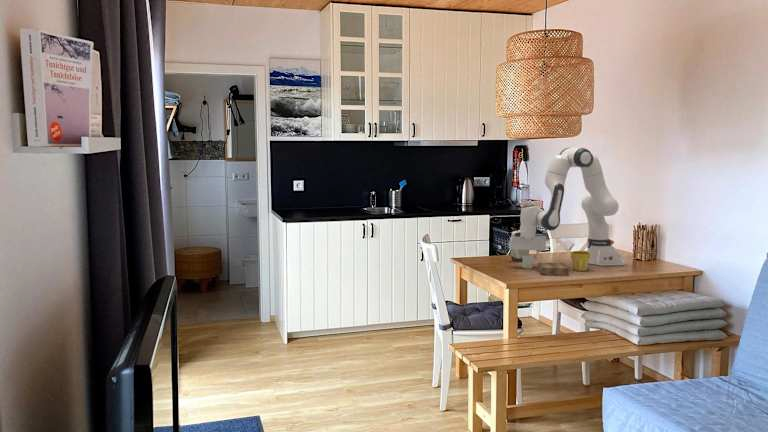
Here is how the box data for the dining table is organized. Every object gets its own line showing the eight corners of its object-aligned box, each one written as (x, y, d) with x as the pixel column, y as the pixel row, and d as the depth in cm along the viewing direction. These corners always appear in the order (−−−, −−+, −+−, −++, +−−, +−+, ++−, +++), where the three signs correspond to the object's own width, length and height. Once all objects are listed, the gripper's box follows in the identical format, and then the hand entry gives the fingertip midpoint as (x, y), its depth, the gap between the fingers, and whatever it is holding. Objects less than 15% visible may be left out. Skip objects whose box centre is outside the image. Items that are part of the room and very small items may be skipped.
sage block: (531, 266, 367) (531, 256, 367) (532, 268, 363) (532, 257, 362) (522, 266, 368) (522, 255, 367) (523, 268, 363) (523, 257, 362)
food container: (529, 260, 385) (529, 243, 384) (530, 262, 379) (530, 245, 378) (507, 260, 386) (508, 243, 385) (508, 262, 380) (509, 245, 379)
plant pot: (566, 269, 358) (566, 252, 357) (577, 267, 365) (578, 250, 363) (582, 272, 350) (582, 254, 349) (593, 270, 356) (594, 252, 355)
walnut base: (563, 270, 356) (564, 263, 356) (568, 275, 342) (568, 268, 342) (537, 269, 358) (538, 262, 357) (541, 275, 344) (541, 267, 344)
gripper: (545, 233, 365) (544, 257, 366) (509, 232, 367) (508, 256, 369) (547, 234, 359) (546, 259, 360) (510, 233, 361) (509, 258, 362)
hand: (526, 257), depth 364 cm, fingers open, 8 cm apart
